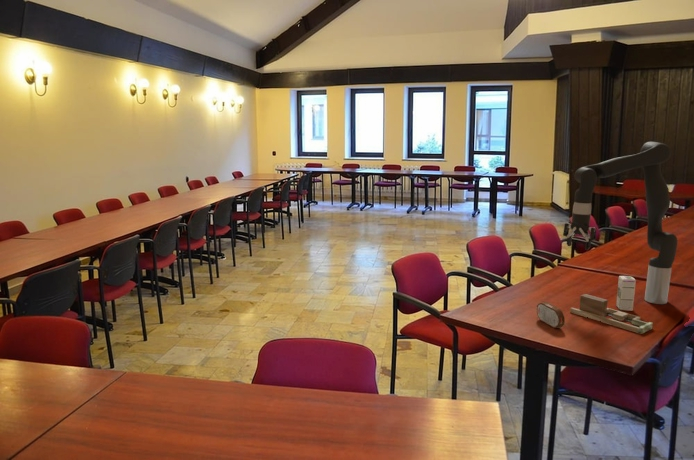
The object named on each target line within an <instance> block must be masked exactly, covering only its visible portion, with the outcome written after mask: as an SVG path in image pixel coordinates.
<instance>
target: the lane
mask: <svg viewBox="0 0 694 460" xmlns="http://www.w3.org/2000/svg"><path fill="white" fill-rule="evenodd" d="M569 312H570V313H572V314H575V315H578V316H582V317H584V318H587V317H588V318H587V319H591V320H594V321H597V322H600V321H601V323H604V324H608V325H610V326H613V327H616V328H621V329H624V330H627V331H630V332H632V333H633V332H634V333H636V334H640V335H642V334H644V333H646V332H649V331H650V330H652V329H653V324H654V323H653V322H650V321H649V322H646V321H643V320H641V316H639V315H635V314H632V313H628V312H626V311H625V312H624V311H622V310H619V309H618V310H616V309H613V308H611V307H607V313H606V317H602V316H599V315H596V314H592V313H589V312H586V311H582V310H579V308H576V307H570V311H569ZM609 317H611V318H609ZM622 321H623V322H622ZM624 321H626V322H629V324H628V323H626V322H624ZM630 323H631V324H630Z"/></svg>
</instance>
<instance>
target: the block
mask: <svg viewBox="0 0 694 460" xmlns="http://www.w3.org/2000/svg"><path fill="white" fill-rule="evenodd" d="M608 302H609V300H608V299H606V298H603V297H598V296H595V295H590V294H587V293H584V294H581V295H580V299H579V308H578V309H579V310H582V311H586V312H589V313H592V314H596V315H599V316H602V317H606V318H607V315H606V313H607V308H608V304H609V303H608Z"/></svg>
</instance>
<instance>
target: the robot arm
mask: <svg viewBox="0 0 694 460" xmlns="http://www.w3.org/2000/svg"><path fill="white" fill-rule="evenodd" d="M671 155H672V150H671V147H670V146H669V145H668V144H665V143H664V142H657V141H647V142H645V143H644V144H643V145H642V147H641V148H640V152H639V153H636V154H631V155H624V156H619V157H614V158H611V159H608V160H605V161H602V162H601V161H600V162H599V163H595V164H589V165H586V166H582V167H579V168H578V169H577V170H576V171H575V173H574V179H575V181H576V182H577V183H579V187H578V188H577V189H576V190H575V193H574V201H573V205H572V215H571V223H570V222H566V223H564V227H563V236H564V237H566V245H567V246H568V247H572V244H573V243H572V241H573V238H572V237H573V236H574V235H578V236H583V238H584V239H585V244H584V245H585V246H584V249H585V250H586V251H588V250H589V249H590V248H591V244H592V242H593V241H596V239H597V227H595V226H593V227H590V223H591V215H592V202H593V199H592V198H593V192H594V191H595V188H596V187H595V186H596V184H597V181H598V179H604V178H606V179H607V178H609V177H612V176H615V175H618V174H622V173H624V172H627V171H630V170H635V169H639V168H642V171H643V177H644V190H645V191H644V192H645V205H646V212H647V231H646V234H647V237H646V238H647V239H646V241H647V245H648V247H649V248H650V249H652V250H653V251H657V252H659V253H658V256H657V257H651V258H649V260H648V266H647V267H648V269H647V275H646V284H645V293H644V301H645V302H647V303H651V304H655V305H666V304H667V303H668V297H669V296H668V295H669V290H670V283H671V276H672V268H673V264H674V261H675V260H676V259H675V258H676V253H677V247H678V239H677V238H678V237H677V236H676V235H675V234H674V233H671V232H666V231H663V218H664V216H665V215H666V213H667V211H668V210H669V207H670V204H671V200H670V190H669V189H670V188H669V186H668V185H667V182H666V179H665V178H664V176H663V173H662V171H661V164H663V163H666V162H667V161H668V160H669V159H670V157H671ZM570 229H571V230H570Z"/></svg>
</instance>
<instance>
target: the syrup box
mask: <svg viewBox="0 0 694 460" xmlns="http://www.w3.org/2000/svg"><path fill="white" fill-rule="evenodd" d="M636 282H637V280H636V279H635V278H634V277H633V276H629V275H619V276H618V283H617V292H616V293H617V294H616V303H615V306H616V308H617V309H618V311H629V312H630V311H633V310H634V301H635V293H636Z"/></svg>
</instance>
